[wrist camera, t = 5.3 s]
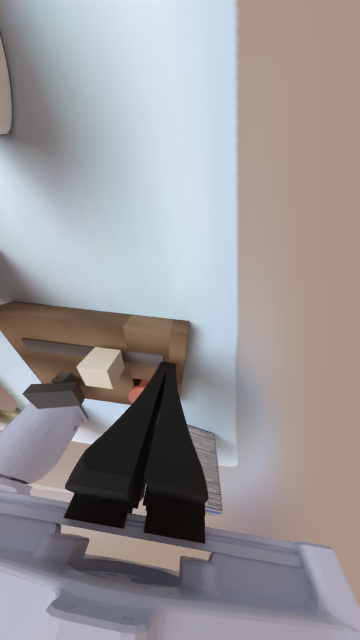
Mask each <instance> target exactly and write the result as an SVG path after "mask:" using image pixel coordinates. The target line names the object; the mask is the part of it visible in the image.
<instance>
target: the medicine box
mask: <svg viewBox="0 0 360 640" xmlns="http://www.w3.org/2000/svg"><path fill="white" fill-rule="evenodd" d="M187 427H188V430H189V433H190V436H191V439H192V441H193V444H194V447H195V450H196V452H197V455H198V457H199V460H200V462H201V465H202V468H203V472H204V476H205V480H206V484H207V489H208V496H209V499H208V501H207V502H206V503H205V515H209V516H215V515H220V514H222V513H223V506H222V497H221V488H220V479H219V470H218V460H217V451H216V442H215V435H214V434H213V433H209V432H206V431H203V430H200V429H197V428H194V427H191V426H188V425H187Z"/></svg>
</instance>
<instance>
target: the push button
mask: <svg viewBox="0 0 360 640" xmlns="http://www.w3.org/2000/svg"><path fill="white" fill-rule="evenodd" d="M149 381H150V380H141V382H140V385H138V386H135V387H133V388H132V389H131V391H130V393H129V396H128V398H129V400H130V402H131V403H133V402H134V401H135V400H136V399H137V397H138V396H139V395H140V394H141V392H142V391H143V389H144V388H145V387H146V385H147V384H148V382H149Z"/></svg>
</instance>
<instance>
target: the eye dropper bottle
mask: <svg viewBox="0 0 360 640" xmlns="http://www.w3.org/2000/svg"><path fill="white" fill-rule="evenodd" d="M11 123H12V101H11V89H10V80H9V74H8V68H7V62H6V58H5V53H4V49H3V44H2V41H1V37H0V134H7V133H8V132H9V130H10V128H11Z"/></svg>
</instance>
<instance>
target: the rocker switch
mask: <svg viewBox="0 0 360 640" xmlns="http://www.w3.org/2000/svg"><path fill="white" fill-rule="evenodd" d="M23 395H24V396H25V397H26V398H27V399H28V400H29V401H30V402H31V403H32V404H33V405H34V406H35V407H36V408H37V409H46V408H59V407H71V406H81V405H82V403H83V401H84V399H85V395H84V393H83V391H82V390H81V388H80V386H79V384H78V382H65V383H47V384H31V385H30V386H29V387H28V388H27V389H26V391H25V392H24V393H23Z"/></svg>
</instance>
